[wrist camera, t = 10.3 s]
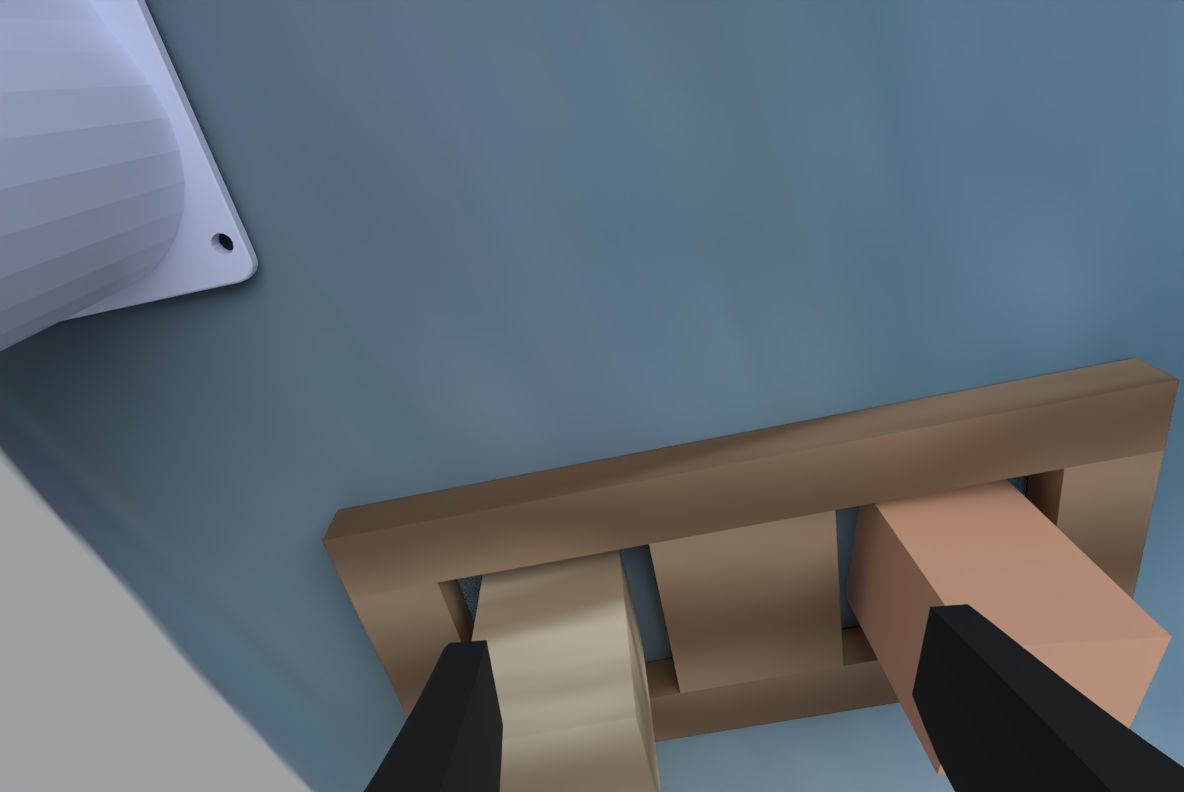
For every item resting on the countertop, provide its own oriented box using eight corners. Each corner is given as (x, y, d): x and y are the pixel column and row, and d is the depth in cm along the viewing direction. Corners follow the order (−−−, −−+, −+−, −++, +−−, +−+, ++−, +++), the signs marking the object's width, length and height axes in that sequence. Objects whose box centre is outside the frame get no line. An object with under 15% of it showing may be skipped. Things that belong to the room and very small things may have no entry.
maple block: (484, 567, 22) (453, 747, 16) (618, 542, 22) (635, 717, 16) (518, 662, 24) (502, 855, 18) (642, 641, 24) (666, 829, 18)
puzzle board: (338, 509, 21) (322, 541, 19) (1136, 357, 19) (1178, 379, 18) (444, 739, 26) (437, 777, 24) (1088, 632, 24) (1118, 666, 23)
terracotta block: (862, 485, 21) (974, 647, 15) (1005, 477, 21) (1171, 637, 15) (844, 594, 23) (937, 774, 17) (974, 587, 23) (1111, 764, 17)
